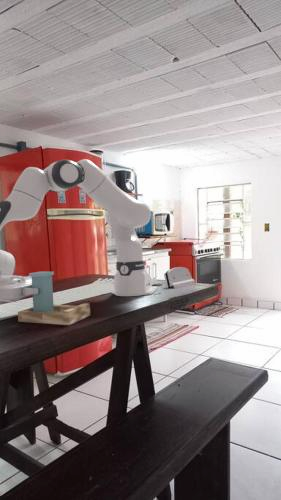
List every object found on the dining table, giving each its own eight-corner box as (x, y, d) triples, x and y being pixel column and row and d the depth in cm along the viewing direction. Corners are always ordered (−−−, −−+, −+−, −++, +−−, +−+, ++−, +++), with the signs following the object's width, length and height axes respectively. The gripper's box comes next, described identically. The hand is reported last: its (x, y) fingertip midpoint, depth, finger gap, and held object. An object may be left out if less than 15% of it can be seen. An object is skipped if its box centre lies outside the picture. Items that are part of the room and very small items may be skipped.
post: (42, 310, 116) (40, 271, 115) (56, 311, 114) (53, 271, 113) (31, 313, 111) (29, 273, 110) (45, 314, 108) (43, 273, 108)
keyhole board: (43, 312, 120) (42, 301, 120) (90, 315, 112) (89, 303, 112) (18, 321, 109) (17, 308, 109) (69, 325, 101) (68, 311, 101)
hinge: (174, 288, 159) (168, 267, 160) (167, 291, 162) (161, 270, 164) (196, 283, 170) (189, 264, 172) (189, 286, 174) (182, 267, 176)
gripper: (-14, 283, 107) (21, 284, 102) (31, 275, 126) (62, 275, 120) (-13, 303, 107) (22, 305, 102) (32, 292, 126) (63, 293, 121)
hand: (44, 289), depth 111 cm, fingers closed on post, 4 cm apart
